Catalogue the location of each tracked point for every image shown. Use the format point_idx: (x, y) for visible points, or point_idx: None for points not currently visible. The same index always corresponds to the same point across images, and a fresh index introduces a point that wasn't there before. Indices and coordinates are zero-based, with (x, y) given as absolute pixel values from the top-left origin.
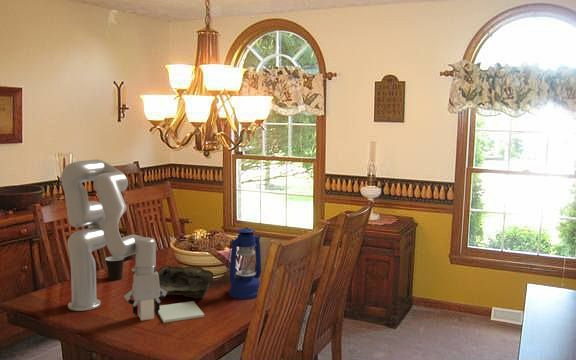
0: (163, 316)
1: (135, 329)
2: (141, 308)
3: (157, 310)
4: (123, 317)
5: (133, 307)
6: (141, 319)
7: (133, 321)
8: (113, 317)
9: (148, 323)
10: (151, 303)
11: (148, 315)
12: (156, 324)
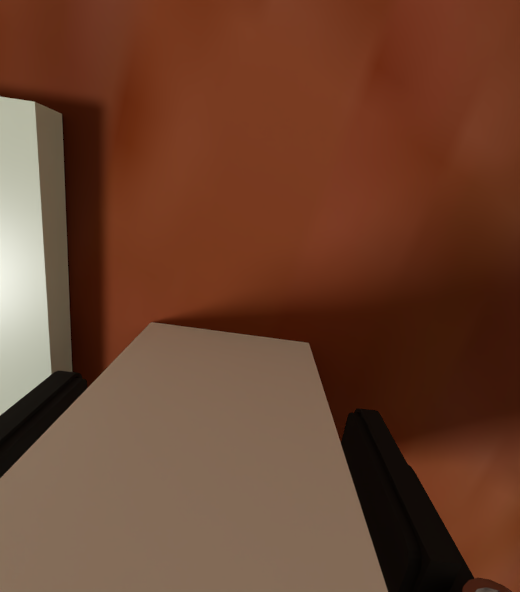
0: (14, 259)
1: (497, 77)
2: (335, 462)
3: (42, 393)
4: None
5: (465, 566)
6: (304, 348)
7: (393, 360)
8: (509, 541)
9: (259, 206)
10: (45, 524)
11: (210, 356)
12: (171, 108)
